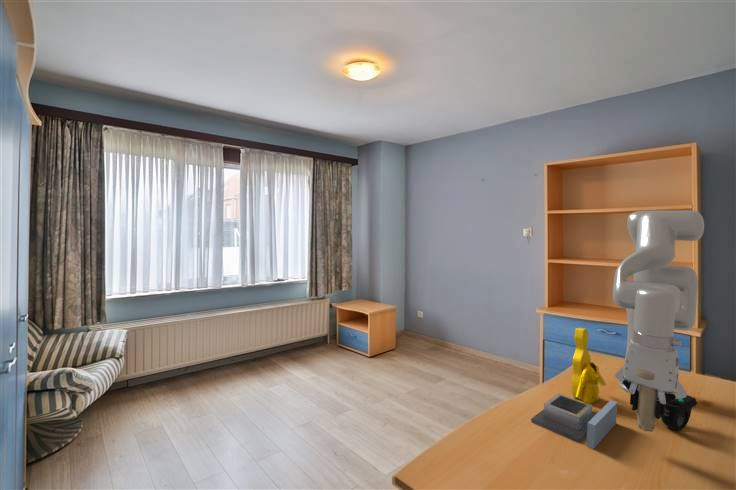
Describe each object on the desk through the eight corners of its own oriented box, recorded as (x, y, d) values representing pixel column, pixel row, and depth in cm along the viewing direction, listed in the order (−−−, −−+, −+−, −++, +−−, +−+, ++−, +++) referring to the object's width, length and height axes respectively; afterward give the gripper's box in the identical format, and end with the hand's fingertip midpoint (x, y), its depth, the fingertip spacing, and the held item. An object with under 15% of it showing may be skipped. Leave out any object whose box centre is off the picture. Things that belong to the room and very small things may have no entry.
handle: (665, 431, 86) (670, 371, 85) (647, 437, 84) (651, 376, 83) (644, 420, 91) (648, 363, 90) (626, 425, 89) (630, 367, 87)
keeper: (558, 401, 111) (558, 387, 111) (602, 418, 102) (603, 402, 102) (531, 421, 99) (532, 406, 99) (578, 442, 90) (579, 425, 90)
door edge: (609, 420, 101) (610, 400, 100) (616, 423, 99) (617, 402, 99) (586, 445, 89) (587, 422, 88) (593, 449, 88) (595, 425, 87)
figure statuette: (583, 411, 105) (587, 338, 104) (557, 400, 112) (560, 331, 110) (611, 396, 115) (615, 329, 113) (585, 386, 121) (589, 323, 120)
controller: (654, 428, 97) (657, 392, 97) (678, 418, 103) (681, 384, 102) (673, 436, 93) (676, 399, 93) (697, 426, 99) (700, 391, 98)
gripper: (702, 345, 82) (695, 422, 83) (616, 328, 94) (611, 394, 96) (696, 354, 77) (689, 435, 79) (606, 334, 90) (602, 404, 91)
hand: (646, 411), depth 87 cm, fingers closed on handle, 4 cm apart
